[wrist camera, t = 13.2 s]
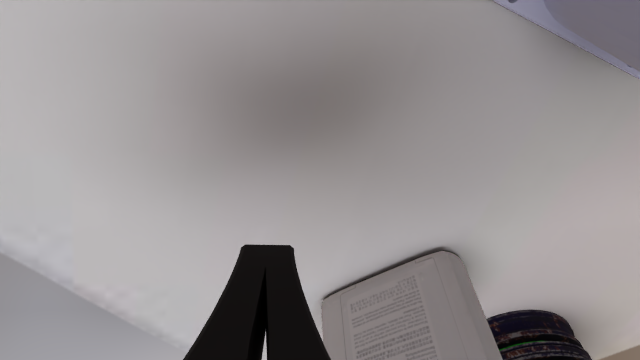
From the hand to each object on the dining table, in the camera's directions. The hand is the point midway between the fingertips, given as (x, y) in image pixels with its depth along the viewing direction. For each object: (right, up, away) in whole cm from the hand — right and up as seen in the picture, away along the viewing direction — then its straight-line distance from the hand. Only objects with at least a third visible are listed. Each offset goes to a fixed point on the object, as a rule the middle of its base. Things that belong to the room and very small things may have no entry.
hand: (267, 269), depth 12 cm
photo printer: (+6, -5, +17) cm, 19 cm away
